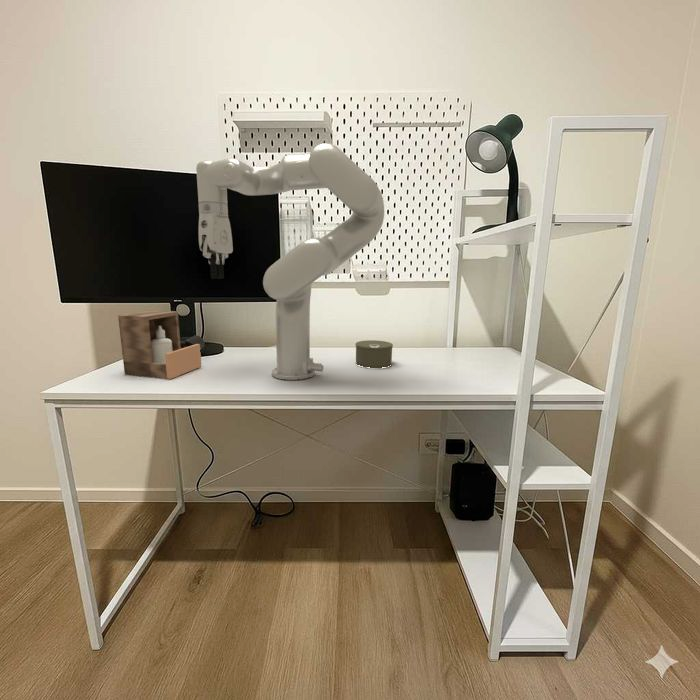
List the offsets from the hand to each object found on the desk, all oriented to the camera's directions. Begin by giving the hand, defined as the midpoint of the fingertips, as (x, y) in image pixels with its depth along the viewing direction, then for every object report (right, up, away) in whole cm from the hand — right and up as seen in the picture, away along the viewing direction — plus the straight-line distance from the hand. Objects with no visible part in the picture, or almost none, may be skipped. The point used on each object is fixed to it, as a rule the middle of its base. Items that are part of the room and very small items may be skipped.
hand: (217, 278), depth 111 cm
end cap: (-17, -23, +22) cm, 36 cm away
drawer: (-16, -26, +4) cm, 31 cm away
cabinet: (-17, -27, +4) cm, 32 cm away
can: (+46, -25, +16) cm, 54 cm away
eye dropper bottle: (-17, -25, +4) cm, 31 cm away
